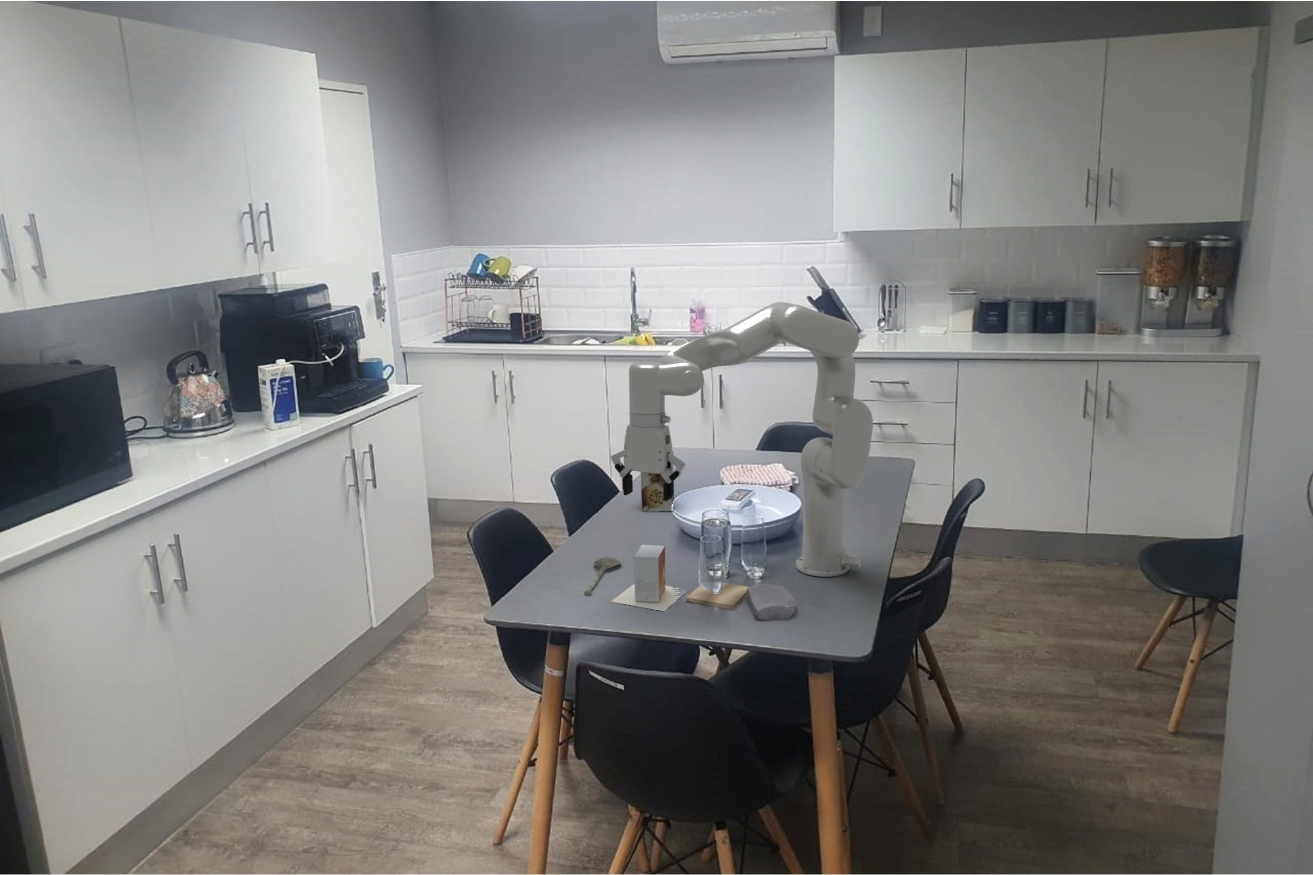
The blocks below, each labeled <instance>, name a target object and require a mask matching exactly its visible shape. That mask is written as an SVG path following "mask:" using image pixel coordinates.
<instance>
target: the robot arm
mask: <svg viewBox="0 0 1313 875" xmlns="http://www.w3.org/2000/svg"><path fill="white" fill-rule="evenodd" d="M782 343H786V344H789V345H793V346H795V347H799V348H801V349H803V350H807V351H810V354H812V356H813V359H814V360H815V362H816V367H817V378H816V379H817V380H816V388H815V395H814V401H813V402H814V403H813V409H812V421H813V424H814V425H815V428H817V429H818V430H820V431H821V432H824V433H826V434H828V435H831V436H832V438H830V437H822V436H821V437H819V436H818V437H815V438H813V439H810V440H809V441H808V442H807V443H806V444H805V445H804V447H803V449H802V452H801V456H800V467H801V474H802V480H803V517H802V518H803V520H802V556H800V557H799V558H797V560H796V561H795V568H796V569H797V570H798V571H800V572H801V573H803V574H806V575H809V576H813V577H821V578H822V577H823V578H828V577H829V578H831V577H838V576H842V575H844V574H846V573H847V572H848V571H849V570H850V567H853V568H858V569H860V568H861V564H862V560H861V559H859V556H857V555H856V556H855V555H850V554H848V549H847V548H844V541H845V540H844V537H845V508H846V495H845V494H846V493H845V490H850V489H853V488H855V487H856V486H858V485H860V484H861V481H862V480H863V478H864V477H865V474H866V471H867V467H868V463H869V462H868V461H869V457H870V456H869V455H870V451H871V450H870V449H871V442H872V436H873V428H874V420H873V415H872V412H871V410H870V408H869V407H868V405H867V404H866V403H864V402H863V401H862V400H860V399H857V398H854V396H855V395H854V394H855V393H854V392H855V386H856V385H855V384H856V383H855V382H856V362H855V359H854V356H853V354H854V353H855V352H856V350H857V349H858V346H859V343H860V335H859V332H858V330H857V328H856V327H855V325H853V324H852V323H851V322H850V321H848V320H844V319H841V318H838V317H835V316H832V315H829V314H827V313H822V312H820V311H817V310H815V309H811V308H809V307H806V306H803V305H799V304H796V303H790V302H785V301H777V302H773V303H771V304H768V305H767V306H765V307H763V308H760V309H759V310H758V311H756V312H754V313H752V314H750V315H748V316H746V317H744V318H743V319H741V320H739V321H738V322H736V323H734V324H732V325H729V326H728V327H727V328H724V329H721V330H718V331H715V332H712V333H710V334H707V335H704V336H701V337H698V338H695V339H692V340H691V341H690V340H689V341H688V342H686V343H684V344H682V345H680V346H678V347H676V348H675V349H672V350H670V351H669V352H667V353H665V354H664V355H663V356H661V357H659V359H658V360H657V361H651V360H650V361H649V360H643V361H642V360H641V361H635V362H633V363H632V364H630V366H629V370H628V392H629V393H628V394H629V395H628V397H629V401H628V402H629V403H628V404H629V406H628V408H629V424H627V425H626V431H625V436H624V441H623V442H624V443H623V450H621V451H619V452H617V453H615V454H612V455H611V457H610V460H611V462H612V464H613V465H614V468H615V470H616V471H617V472H618V473H619V477H620V478H621V481H622V482H621V485H622V486H621V487H622V488H621V489H622V491H623V492H622V493H623V494H622V495H624V496H628V495H630V494H632V493H633V492H634V489H633V488H634V485H633V483H634V481H633V474H631V473H632V472H639V473H641V472H647V473H656V474H661V476H662V477H663V478H664V480H665V481H666V482H665V483H664V484H663V499H664V501H668V500H669V499H671V498H672V496H673V495H674V496H675V486H674V485H675V484H674V483H675V481H676V480H677V479H678V477H680V476H681V475H682V473H683V471H684V469H685V466H686V462H684V461H682V460H681V459H680V458H678V457H676V456H675V455H674V452H673V443H672V437H671V431H670V427H669V425H668V423H669V424H670V422H671V416H667V412H666V411H665V410H666V409H665V408H666V407H665V406H666V404H665V403H666V401H665V400H666V399H665V398H666V397H665V396H674V397H689V396H693V395H695V394H697V393H698V392H699V391H700V390H701V388H702V387H703V385H704V381H705V380H704V374H703V371H706V370H710V369H713V368H718V367H727V366H728V367H730V366H737V365H741V364H745V363H747V362H749V361H751V360H753V359H754V358H757V357H758V356H759V355H761V354H763V353H765V352H766V351H769V350H770V349H772V348H774V347H776V346H777V345H780V344H782ZM666 423H667V425H666ZM621 458H623V462H621ZM674 466H675V469H674V472H672V470H671V468H672V467H673V468H674Z"/></svg>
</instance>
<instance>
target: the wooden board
mask: <svg viewBox="0 0 1313 875" xmlns="http://www.w3.org/2000/svg"><path fill="white" fill-rule="evenodd" d="M722 583H723V585H722V588H721V592H720V593H719V594H713V592H710V590H705V589H704V588H702V587H701V586H700V585H698V586H697V587H696V588H695V589H694V590H693V591H692V592H691V593H690V594H688V595H687V596H686V597H685V602H686V601H690V602H689V603H691V602H694V603H693V604H697V603H700V604H699V605H702V604H708V605H711V606H710V607H714V606H715V608H719V609H724V610H725V609H726V610H731V611H733V610H734V609H735V608H737V607H738V605H740V603H741V602H742V601H743V600H744V599H745V598H747V588H748V587H749V586H744V585H738V584H732V583H726V582H722ZM708 605H707V606H708Z"/></svg>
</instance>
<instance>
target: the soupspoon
mask: <svg viewBox="0 0 1313 875" xmlns="http://www.w3.org/2000/svg"><path fill="white" fill-rule="evenodd" d="M593 564H594V565H595V566H597V567H599V571H598V573H597V574H596V576H595V578H594V579H593V582H592V583H591V585H590V586H589V588H587V590H585V591H584V592H583V595H584V596H588V595H590V596H592V595H593V594H592V592H593V590H594V586H595V585H596V584H597V583H598V580H599V579H600V577H601V575H602V573H604V571H605V570H607V569H611V568H613V567H617V566H619V565H621V564H622V562H621V561H620V560H618V559H616V558H613V557H607V556H605V557H602V558H598V559H596V560H595V561H593Z"/></svg>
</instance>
